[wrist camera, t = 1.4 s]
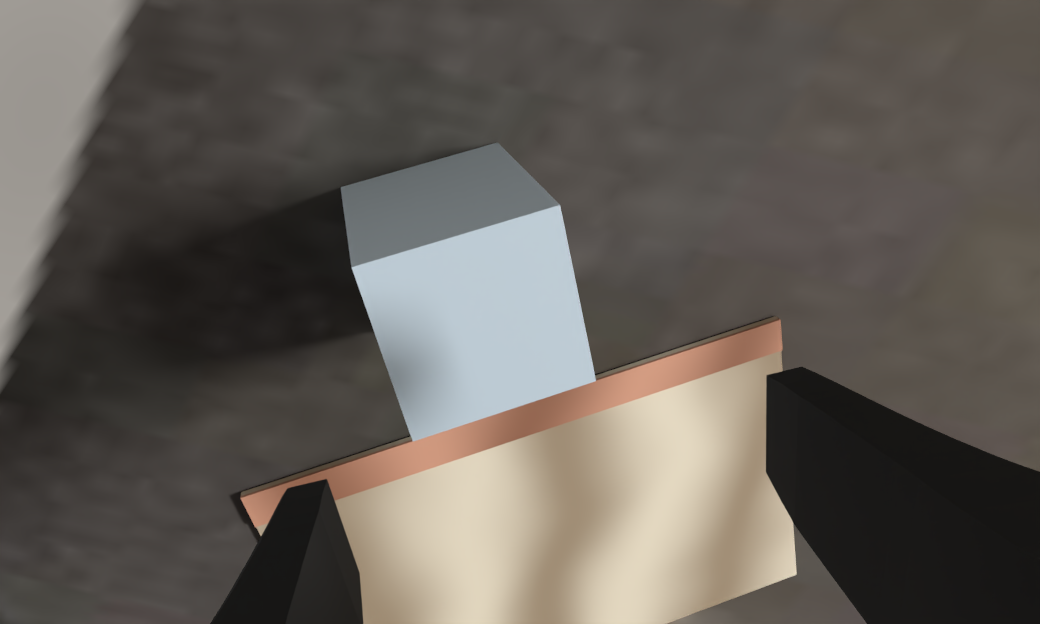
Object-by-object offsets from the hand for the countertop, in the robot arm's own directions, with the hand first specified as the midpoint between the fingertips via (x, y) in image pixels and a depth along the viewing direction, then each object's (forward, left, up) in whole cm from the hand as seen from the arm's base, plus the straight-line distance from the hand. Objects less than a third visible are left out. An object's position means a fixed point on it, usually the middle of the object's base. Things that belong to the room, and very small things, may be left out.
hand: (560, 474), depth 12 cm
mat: (+1, -12, -11) cm, 16 cm away
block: (0, 0, -11) cm, 11 cm away
